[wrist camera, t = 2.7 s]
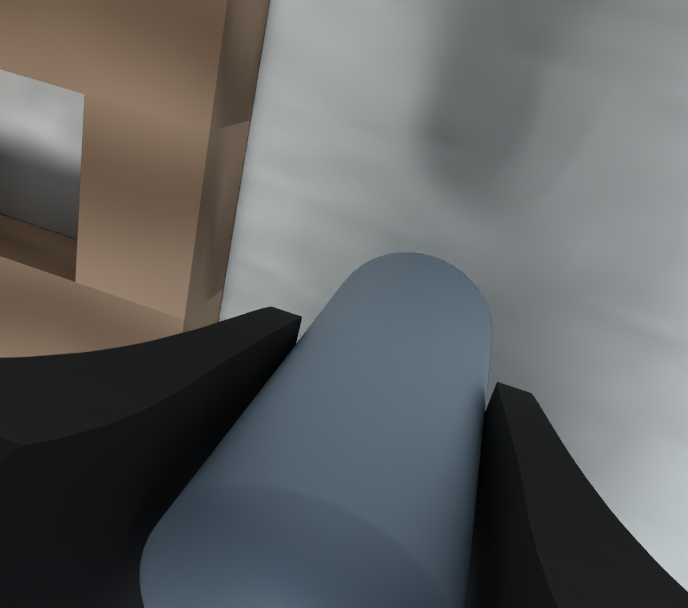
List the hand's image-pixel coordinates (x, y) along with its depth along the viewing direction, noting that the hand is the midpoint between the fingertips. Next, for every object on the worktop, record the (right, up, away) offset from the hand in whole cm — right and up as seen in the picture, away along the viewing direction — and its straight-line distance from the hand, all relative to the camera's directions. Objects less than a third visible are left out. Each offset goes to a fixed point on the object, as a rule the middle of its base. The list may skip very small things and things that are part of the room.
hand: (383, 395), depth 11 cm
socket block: (-10, +6, +8) cm, 14 cm away
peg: (+1, +1, +3) cm, 3 cm away
